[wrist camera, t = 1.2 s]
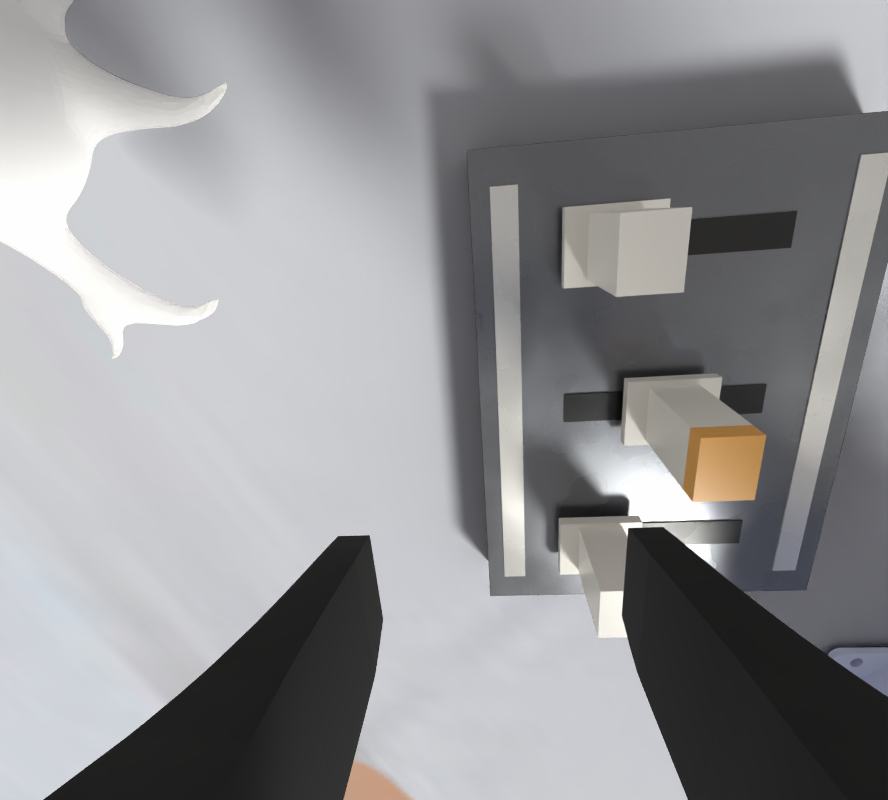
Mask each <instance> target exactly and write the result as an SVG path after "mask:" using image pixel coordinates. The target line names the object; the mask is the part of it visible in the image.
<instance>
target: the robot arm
mask: <svg viewBox="0 0 888 800" xmlns="http://www.w3.org/2000/svg"><path fill="white" fill-rule="evenodd" d="M622 619H623V622H624V626H625V630H626V634H627V637H628V641H629V645H630V648H631V652H632V655H633V659H634V662H635V666H636V669H637V673H638V675H639V678H640V681H641V683H642V686H643V688H644V691H645V693H646V696H647V698H648V701H649V703H650V706H651V709H652V711H653V714H654V716H655V719H656V721H657V724H658V726H659V729H660V731H661V734H662V736H663V739H664V741H665V743H666V746H667V748H668V751H669V753H670V756H671V758H672V761H673V763H674V766H675V768H676V771H677V773H678V776H679V778H680V781H681V783H682V786H683V788H684V791H685V793H686V796H687V798H688V800H888V647H868V648H836V649H833V650H832V651H830V652H829V654H828V655H827V654H825V653H824V652H822V651H821V650H820V649H818V648H817V647H815V646H814V645H813V644H811V643H810V642H808V641H807V640H806V639H804V638H803V637H801V636H800V635H799V634H797V633H796V632H795V631H793V630H792V629H791V628H789V627H788V626H787V625H785V624H784V623H783V622H781V621H780V620H779V619H777V618H776V617H775V616H773V615H772V614H771V613H770V612H768V611H767V610H766V609H764V608H763V607H762V606H760V605H759V604H758V603H757V602H755V601H754V600H753V599H752V598H750V597H749V596H748V595H746V594H745V593H744V592H743V591H741V590H740V589H739V588H738V587H736V586H735V585H734V584H733V583H731V582H730V581H729V580H728V579H726V578H725V577H724V576H723V575H722V574H720V573H719V572H718V571H717V570H715V569H714V568H713V567H712V566H711V565H709V564H708V563H707V562H706V561H704V560H703V559H702V558H701V557H700V556H698V555H697V554H696V553H695V552H694V551H692V550H691V549H690V548H689V547H688V546H686V545H685V544H684V543H683V542H681V541H680V540H679V539H678V538H677V537H675V536H674V535H673V534H672V533H670V532H669V531H668V530H667V529H665V528H664V527H643V528H628V537H627V551H626V564H625V577H624V591H623V604H622ZM382 623H383V616H382V610H381V603H380V597H379V591H378V585H377V578H376V572H375V566H374V560H373V553H372V547H371V541H370V535H368V536H338V537H337V538H336V539H335V540H334V541H333V542H332V543H331V544H330V545H329V546H328V547H327V548H326V550H325V551H324V552H323V553H322V554H321V555H320V556H319V557H318V558H317V559H316V560H315V561H314V562H313V564H312V565H311V566H310V567H309V568H308V569H307V570H306V571H305V572H304V573H303V574H302V575H301V577H300V578H299V579H298V580H297V581H296V582H295V583H294V584H293V585H292V586H291V587H290V588H289V589H288V590H287V591H286V593H285V594H284V595H283V596H282V597H281V598H280V599H279V600H278V601H277V602H276V603H275V604H274V605H273V606H272V607H271V608H270V609H269V610H268V611H267V612H266V613H265V614H264V615H263V616H262V617H261V618H260V619H259V620H258V621H257V622H256V623H255V624H254V625H253V626H252V627H251V628H250V629H249V630H248V631H247V632H246V633H245V634H244V635H243V636H242V637H241V638H240V639H239V640H238V641H237V642H236V643H235V644H234V645H233V646H232V647H231V648H229V649H228V650H227V651H226V652H225V653H224V654H223V655H222V656H221V657H220V658H219V659H218V660H217V661H216V662H215V663H214V664H213V665H212V666H211V667H209V668H208V669H207V670H206V671H205V672H204V673H203V674H202V675H201V676H199V677H198V678H197V679H196V680H195V681H194V682H193V683H191V684H190V685H189V686H188V687H187V688H186V689H185V690H183V691H182V692H181V693H180V694H179V695H178V696H176V697H175V698H174V699H173V700H172V701H170V702H169V703H168V704H167V705H166V706H164V707H163V708H162V709H161V710H160V711H158V712H157V713H156V714H155V715H153V716H152V717H151V718H150V719H149V720H147V721H146V722H145V723H144V724H143V725H141V726H140V727H139V728H138V729H136V730H135V731H134V732H133V733H131V734H130V735H129V736H128V737H126V738H125V739H124V740H122V741H121V742H120V743H118V744H117V745H116V746H114V747H113V748H112V749H110V750H109V751H108V752H106V753H105V754H104V755H102V756H101V757H100V758H98V759H97V760H96V761H94V762H93V763H92V764H90V765H89V766H88V767H86V768H85V769H84V770H82V771H81V772H80V773H78V774H77V775H76V776H74V777H73V778H72V779H70V780H69V781H68V782H66V783H65V784H64V785H62V786H61V787H60V788H58V789H57V790H56V791H54V792H53V793H52V794H50V795H49V796H48V797H46V798H45V799H44V800H343V798H344V795H345V791H346V787H347V783H348V779H349V776H350V772H351V768H352V764H353V760H354V756H355V752H356V748H357V745H358V741H359V737H360V733H361V729H362V725H363V721H364V717H365V713H366V709H367V705H368V701H369V697H370V693H371V690H372V685H373V681H374V677H375V672H376V666H377V659H378V652H379V645H380V638H381V630H382Z"/></svg>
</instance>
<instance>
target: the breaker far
mask: <svg viewBox="0 0 888 800" xmlns="http://www.w3.org/2000/svg"><path fill="white" fill-rule="evenodd" d="M628 528H642V521H641V519H640V517H639V516H607V517H575V518H559V540H558V569H559V573H560V575H567V574H579V575H580V578H581V581H582V585H583V588H584V592H585V595H586V598H587V602H588V605H589V609H590V612H591V615H592V619H593V622H594V625H595V629H596V632H597V636H598V638H609V637H627V634H626V630H625V626H624V622H623V619H622V604H623V591H624V577H625V564H626V551H627V537H628Z"/></svg>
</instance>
